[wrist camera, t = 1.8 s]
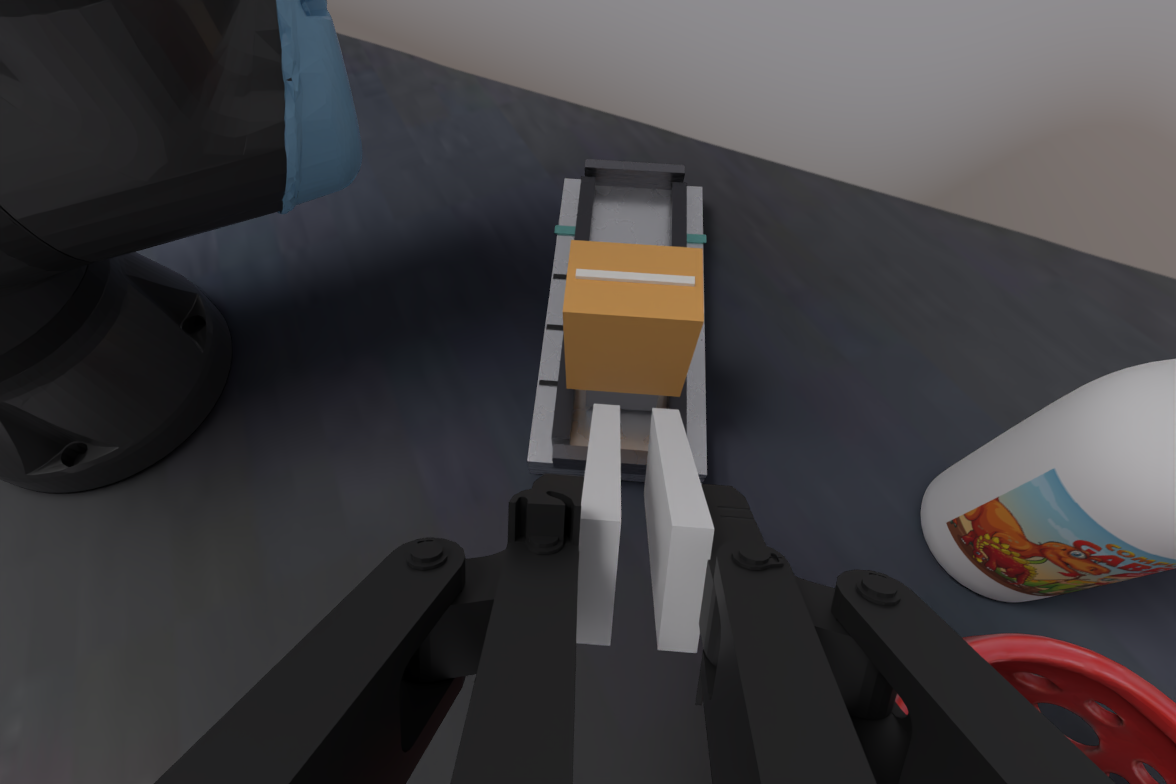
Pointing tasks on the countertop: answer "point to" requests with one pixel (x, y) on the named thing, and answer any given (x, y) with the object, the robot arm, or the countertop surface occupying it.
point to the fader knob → (631, 321)
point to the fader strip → (588, 213)
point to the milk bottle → (1065, 493)
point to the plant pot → (1090, 700)
